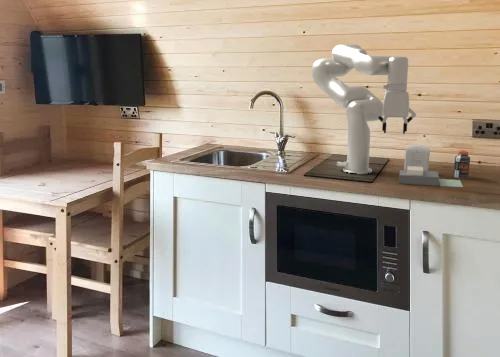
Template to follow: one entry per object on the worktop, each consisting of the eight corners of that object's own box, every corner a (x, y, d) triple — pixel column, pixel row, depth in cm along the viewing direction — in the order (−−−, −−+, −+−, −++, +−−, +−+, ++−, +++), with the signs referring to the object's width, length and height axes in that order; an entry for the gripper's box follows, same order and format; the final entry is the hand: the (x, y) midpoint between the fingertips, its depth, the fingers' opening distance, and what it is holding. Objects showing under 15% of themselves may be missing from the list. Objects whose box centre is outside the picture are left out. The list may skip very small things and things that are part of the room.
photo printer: (428, 172, 233) (430, 144, 231) (427, 174, 230) (429, 146, 227) (404, 170, 237) (406, 143, 235) (403, 172, 233) (405, 144, 231)
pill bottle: (458, 179, 220) (460, 152, 218) (450, 176, 226) (452, 149, 224) (471, 178, 222) (473, 151, 219) (463, 175, 227) (465, 149, 225)
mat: (439, 186, 208) (439, 185, 208) (438, 179, 219) (438, 178, 219) (462, 187, 206) (463, 186, 206) (459, 180, 217) (460, 180, 217)
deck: (398, 183, 213) (399, 175, 212) (399, 177, 223) (399, 169, 222) (438, 185, 209) (439, 177, 208) (436, 179, 219) (437, 171, 218)
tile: (407, 174, 213) (407, 169, 212) (407, 170, 220) (407, 166, 220) (422, 175, 211) (423, 170, 211) (422, 171, 218) (422, 166, 218)
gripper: (373, 88, 209) (371, 133, 213) (420, 89, 205) (416, 135, 209) (374, 87, 216) (372, 131, 220) (419, 88, 212) (416, 132, 216)
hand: (394, 132), depth 214 cm, fingers open, 6 cm apart
